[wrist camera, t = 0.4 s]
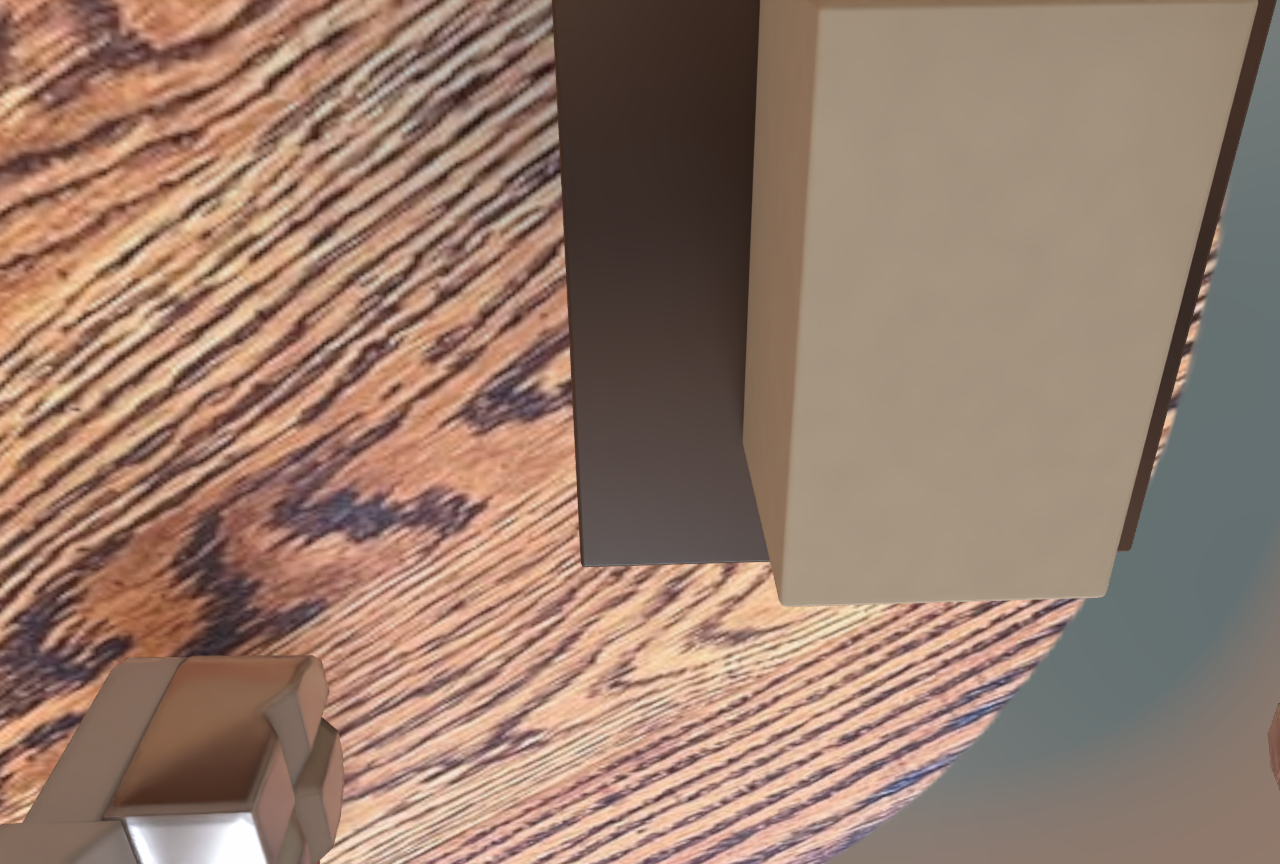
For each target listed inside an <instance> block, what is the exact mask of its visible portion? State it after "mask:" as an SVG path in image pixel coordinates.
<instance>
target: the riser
mask: <svg viewBox="0 0 1280 864" xmlns="http://www.w3.org/2000/svg"><path fill="white" fill-rule="evenodd" d="M1275 5H1276V0H1258V6H1257V10H1256V14H1255V18H1254V22H1253V26H1252V30H1251V33H1250V37H1249V41H1248V45H1247V49H1246V53H1245V57H1244V61H1243V64H1242V68H1241V72H1240V76H1239V80H1238V84H1237V88H1236V92H1235V95H1234V99H1233V103H1232V107H1231V111H1230V115H1229V119H1228V123H1227V126H1226V130H1225V134H1224V138H1223V142H1222V146H1221V150H1220V154H1219V157H1218V161H1217V165H1216V169H1215V173H1214V177H1213V181H1212V185H1211V189H1210V192H1209V196H1208V200H1207V204H1206V208H1205V212H1204V216H1203V220H1202V223H1201V227H1200V231H1199V235H1198V239H1197V243H1196V247H1195V251H1194V254H1193V258H1192V262H1191V266H1190V270H1189V274H1188V278H1187V282H1186V285H1185V289H1184V293H1183V297H1182V301H1181V305H1180V309H1179V313H1178V316H1177V320H1176V324H1175V328H1174V332H1173V336H1172V340H1171V344H1170V347H1169V351H1168V355H1167V359H1166V363H1165V367H1164V371H1163V375H1162V378H1161V382H1160V386H1159V390H1158V394H1157V398H1156V402H1155V406H1154V409H1153V413H1152V417H1151V421H1150V425H1149V429H1148V433H1147V437H1146V441H1145V444H1144V448H1143V452H1142V456H1141V460H1140V464H1139V468H1138V472H1137V475H1136V479H1135V483H1134V487H1133V491H1132V495H1131V499H1130V503H1129V506H1128V510H1127V514H1126V518H1125V522H1124V526H1123V530H1122V534H1121V537H1120V541H1119V545H1118V549H1117V551H1129V550H1130V549H1131V547H1132V543H1133V539H1134V535H1135V532H1136V528H1137V524H1138V520H1139V517H1140V513H1141V509H1142V505H1143V501H1144V498H1145V494H1146V490H1147V486H1148V483H1149V479H1150V475H1151V471H1152V468H1153V464H1154V460H1155V456H1156V453H1157V449H1158V445H1159V441H1160V437H1161V434H1162V430H1163V426H1164V422H1165V419H1166V415H1167V411H1168V407H1169V404H1170V400H1171V396H1172V392H1173V389H1174V385H1175V381H1176V377H1177V373H1178V370H1179V366H1180V362H1181V358H1182V355H1183V351H1184V347H1185V343H1186V340H1187V336H1188V332H1189V328H1190V324H1191V321H1192V317H1193V313H1194V309H1195V306H1196V302H1197V298H1198V294H1199V291H1200V287H1201V283H1202V279H1203V276H1204V272H1205V268H1206V264H1207V261H1208V257H1209V253H1210V249H1211V245H1212V242H1213V238H1214V234H1215V230H1216V227H1217V223H1218V219H1219V215H1220V212H1221V208H1222V204H1223V200H1224V197H1225V193H1226V189H1227V185H1228V181H1229V178H1230V174H1231V170H1232V166H1233V163H1234V159H1235V155H1236V151H1237V148H1238V144H1239V140H1240V136H1241V132H1242V128H1243V125H1244V121H1245V117H1246V114H1247V110H1248V106H1249V102H1250V98H1251V95H1252V91H1253V87H1254V83H1255V80H1256V76H1257V72H1258V68H1259V64H1260V61H1261V57H1262V53H1263V50H1264V46H1265V42H1266V38H1267V35H1268V31H1269V27H1270V23H1271V20H1272V16H1273V12H1274V8H1275ZM552 12H553V31H554V50H555V70H556V89H557V109H558V128H559V147H560V167H561V186H562V206H563V225H564V244H565V264H566V283H567V303H568V322H569V341H570V361H571V380H572V400H573V419H574V438H575V458H576V477H577V497H578V516H579V535H580V555H581V564H582V566H583V567H603V566H637V565H671V564H705V563H739V562H770V558H769V554H768V550H767V545H766V541H765V537H764V532H763V528H762V524H761V519H760V515H759V511H758V506H757V502H756V498H755V493H754V489H753V485H752V480H751V476H750V472H749V467H748V463H747V459H746V455H745V450H744V446H743V421H744V396H745V370H746V345H747V320H748V295H749V269H750V244H751V219H752V193H753V168H754V143H755V118H756V92H757V67H758V42H759V17H760V0H552Z"/></svg>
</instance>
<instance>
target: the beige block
mask: <svg viewBox="0 0 1280 864" xmlns="http://www.w3.org/2000/svg"><path fill="white" fill-rule="evenodd" d="M1257 6H1258V0H760V17H759V42H758V67H757V92H756V118H755V143H754V168H753V193H752V219H751V244H750V269H749V295H748V320H747V345H746V370H745V396H744V421H743V446H744V450H745V455H746V459H747V463H748V467H749V472H750V476H751V480H752V485H753V489H754V493H755V498H756V502H757V506H758V511H759V515H760V519H761V524H762V528H763V532H764V537H765V541H766V545H767V550H768V554H769V558H770V563H771V567H772V571H773V576H774V580H775V584H776V589H777V593H778V597H779V601H780V603H781V604H782V606H785V607H804V606H837V605H870V604H902V603H935V602H968V601H1001V600H1034V599H1067V598H1096V597H1103V596H1104V595H1105V594H1106V592H1107V588H1108V584H1109V580H1110V576H1111V572H1112V568H1113V564H1114V561H1115V557H1116V553H1117V549H1118V545H1119V541H1120V537H1121V534H1122V530H1123V526H1124V522H1125V518H1126V514H1127V510H1128V506H1129V503H1130V499H1131V495H1132V491H1133V487H1134V483H1135V479H1136V475H1137V472H1138V468H1139V464H1140V460H1141V456H1142V452H1143V448H1144V444H1145V441H1146V437H1147V433H1148V429H1149V425H1150V421H1151V417H1152V413H1153V409H1154V406H1155V402H1156V398H1157V394H1158V390H1159V386H1160V382H1161V378H1162V375H1163V371H1164V367H1165V363H1166V359H1167V355H1168V351H1169V347H1170V344H1171V340H1172V336H1173V332H1174V328H1175V324H1176V320H1177V316H1178V313H1179V309H1180V305H1181V301H1182V297H1183V293H1184V289H1185V285H1186V282H1187V278H1188V274H1189V270H1190V266H1191V262H1192V258H1193V254H1194V251H1195V247H1196V243H1197V239H1198V235H1199V231H1200V227H1201V223H1202V220H1203V216H1204V212H1205V208H1206V204H1207V200H1208V196H1209V192H1210V189H1211V185H1212V181H1213V177H1214V173H1215V169H1216V165H1217V161H1218V157H1219V154H1220V150H1221V146H1222V142H1223V138H1224V134H1225V130H1226V126H1227V123H1228V119H1229V115H1230V111H1231V107H1232V103H1233V99H1234V95H1235V92H1236V88H1237V84H1238V80H1239V76H1240V72H1241V68H1242V64H1243V61H1244V57H1245V53H1246V49H1247V45H1248V41H1249V37H1250V33H1251V30H1252V26H1253V22H1254V18H1255V14H1256V10H1257Z"/></svg>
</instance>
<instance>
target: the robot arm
mask: <svg viewBox="0 0 1280 864" xmlns="http://www.w3.org/2000/svg"><path fill="white" fill-rule="evenodd" d="M328 694H329V688H328V684H327V680H326V676H325V672H324V668H323V665H322V661H321V660H319V659H318V658H316V657H314V656H313V655H307V656H191V657H190V658H185V657H129V658H127V659H126V660H124V661H123V662H121V663H120V664H119V665H117V666H116V667H114V668H113V670H112V671H111V672H110V674H109V675H108V677H107V679H106V680H105V682H104V684H103V686H102V687H101V689H100V691H99V692H98V694H97V696H96V698H95V699H94V701H93V703H92V704H91V706H90V708H89V710H88V711H87V713H86V715H85V716H84V718H83V720H82V721H81V723H80V725H79V727H78V728H77V730H76V732H75V733H74V735H73V737H72V739H71V740H70V742H69V744H68V745H67V747H66V749H65V751H64V752H63V754H62V756H61V757H60V759H59V761H58V763H57V764H56V766H55V768H54V769H53V771H52V773H51V775H50V776H49V778H48V780H47V781H46V783H45V785H44V787H43V788H42V790H41V792H40V793H39V795H38V797H37V799H36V800H35V802H34V804H33V805H32V807H31V809H30V810H29V812H28V814H27V816H26V817H25V819H24V821H23V822H22V823H14V824H1V825H0V864H316V863H317V862H318V861H319V860H320V859H321V858H323V857H324V856H325V855H326V854H327V853H328V852H329V851H330V850H331V849H332V848H333V845H334V841H335V837H336V833H337V829H338V825H339V821H340V817H341V807H342V797H343V787H344V769H343V753H342V748H341V743H340V738H339V733H338V730H336V729H335V728H334V727H333V726H332V725H330V724H329V723H328V722H327V721H326V720H324V719H323V718H322V714H323V711H324V707H325V704H326V701H327V698H328ZM1268 742H1269V753H1270V764H1271V768H1272V771H1273V773H1274V776H1275V779H1276V781H1277V784H1278V786H1279V789H1280V703H1279V704H1278V706H1277V709H1276V712H1275V715H1274V718H1273V720H1272V724H1271V726H1270V729H1269V732H1268Z"/></svg>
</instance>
